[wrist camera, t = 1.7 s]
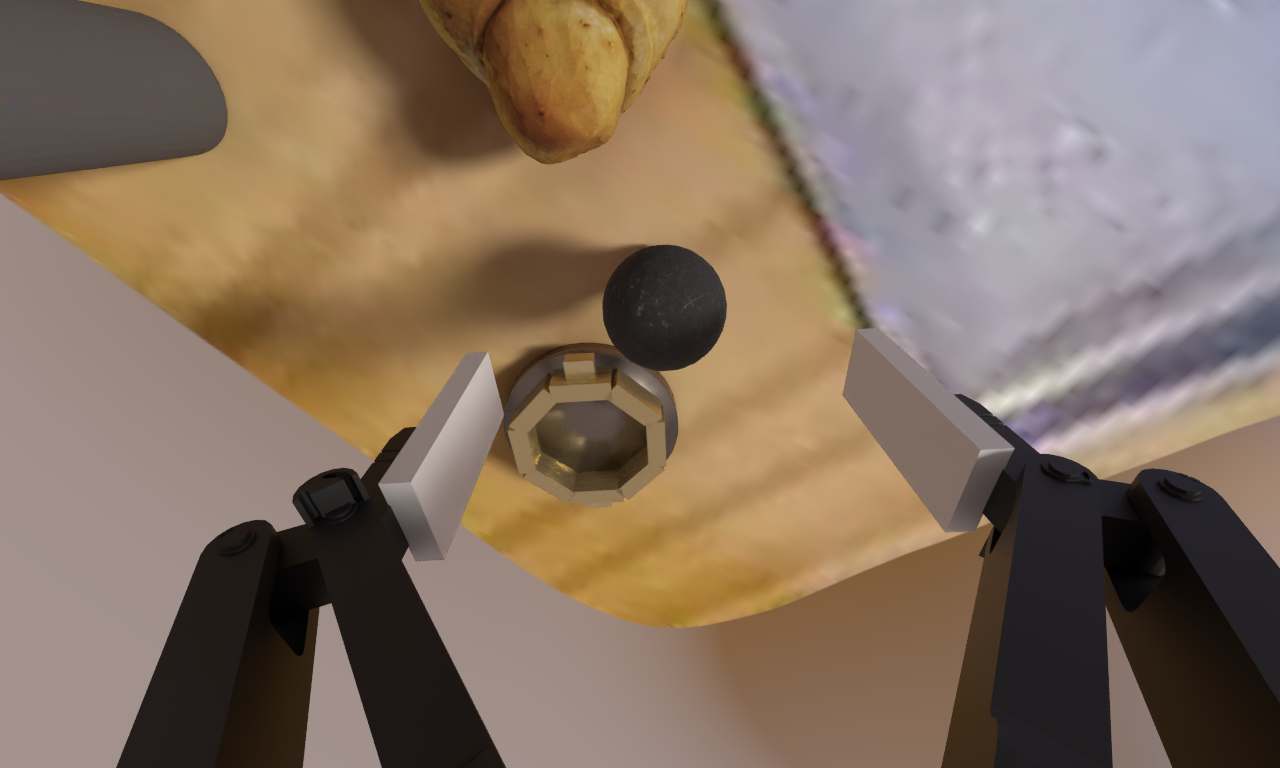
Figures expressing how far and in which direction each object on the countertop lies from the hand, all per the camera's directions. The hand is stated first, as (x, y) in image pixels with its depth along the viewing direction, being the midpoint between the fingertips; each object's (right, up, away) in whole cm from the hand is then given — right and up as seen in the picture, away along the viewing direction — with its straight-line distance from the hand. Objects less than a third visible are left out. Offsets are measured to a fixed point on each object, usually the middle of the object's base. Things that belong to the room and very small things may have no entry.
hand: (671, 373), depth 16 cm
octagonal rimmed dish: (-5, -3, +16) cm, 17 cm away
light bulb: (0, +7, +10) cm, 12 cm away
